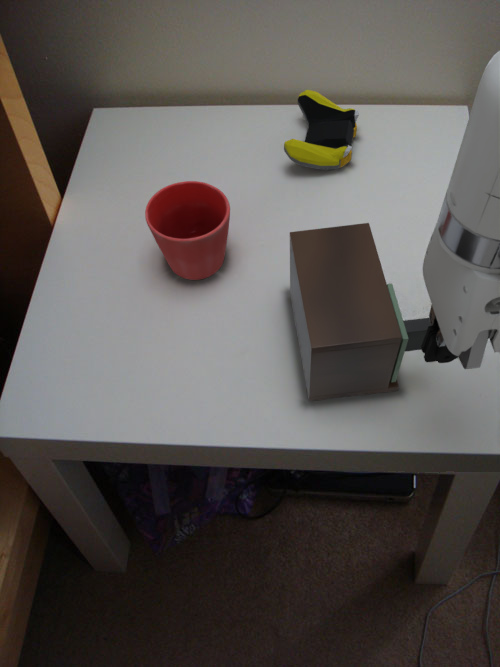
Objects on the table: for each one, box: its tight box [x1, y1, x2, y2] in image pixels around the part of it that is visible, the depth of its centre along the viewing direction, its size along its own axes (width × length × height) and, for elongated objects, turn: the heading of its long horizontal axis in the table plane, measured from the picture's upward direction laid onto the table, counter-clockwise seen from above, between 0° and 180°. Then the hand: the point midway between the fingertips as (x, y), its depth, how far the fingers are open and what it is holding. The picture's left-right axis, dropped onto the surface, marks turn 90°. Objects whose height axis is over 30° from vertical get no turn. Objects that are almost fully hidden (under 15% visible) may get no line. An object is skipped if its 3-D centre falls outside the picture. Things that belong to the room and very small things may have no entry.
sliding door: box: [386, 282, 433, 382], centre depth 68 cm, size 5×7×9 cm, turn 6°
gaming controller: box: [283, 89, 360, 171], centre depth 93 cm, size 15×6×10 cm
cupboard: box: [289, 222, 402, 402], centre depth 70 cm, size 11×16×12 cm, turn 6°
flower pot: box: [144, 180, 231, 281], centre depth 80 cm, size 11×11×10 cm
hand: (438, 353), depth 58 cm, fingers closed
